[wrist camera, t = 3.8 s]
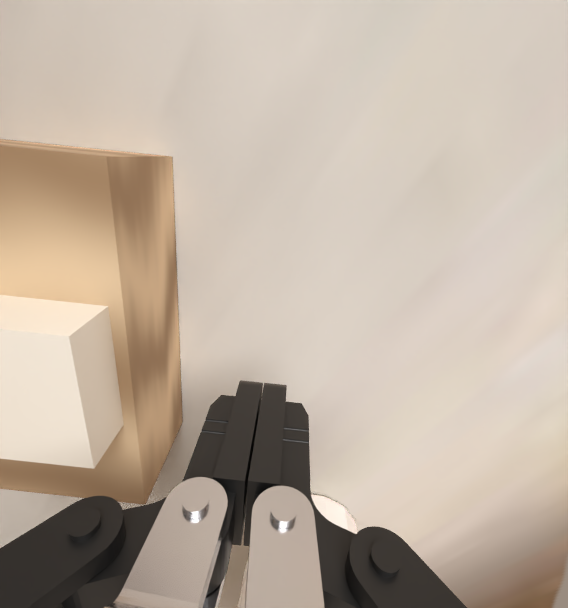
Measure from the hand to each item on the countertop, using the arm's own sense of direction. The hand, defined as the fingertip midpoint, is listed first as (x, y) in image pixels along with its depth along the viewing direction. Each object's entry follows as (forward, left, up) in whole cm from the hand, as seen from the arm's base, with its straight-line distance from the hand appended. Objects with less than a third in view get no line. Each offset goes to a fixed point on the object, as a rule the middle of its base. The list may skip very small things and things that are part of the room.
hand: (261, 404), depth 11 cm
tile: (0, -8, -1) cm, 8 cm away
